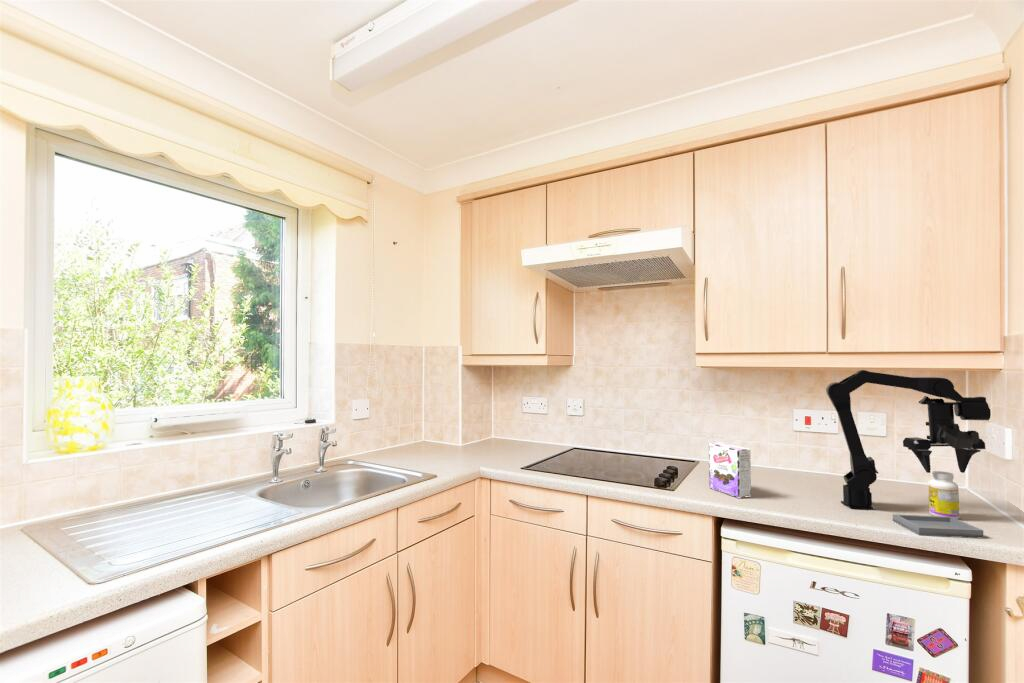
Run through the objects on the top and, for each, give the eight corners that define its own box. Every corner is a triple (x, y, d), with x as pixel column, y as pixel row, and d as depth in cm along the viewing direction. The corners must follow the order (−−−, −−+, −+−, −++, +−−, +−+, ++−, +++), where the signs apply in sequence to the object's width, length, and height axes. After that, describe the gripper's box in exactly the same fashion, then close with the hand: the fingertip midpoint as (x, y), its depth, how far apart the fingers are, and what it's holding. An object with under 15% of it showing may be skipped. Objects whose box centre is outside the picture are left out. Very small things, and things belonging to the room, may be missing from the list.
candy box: (708, 488, 172) (707, 442, 173) (721, 486, 175) (720, 441, 175) (738, 498, 160) (737, 449, 160) (752, 497, 162) (751, 448, 162)
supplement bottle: (928, 511, 146) (927, 469, 146) (958, 516, 141) (956, 472, 142) (929, 517, 140) (928, 473, 141) (960, 522, 136) (959, 476, 137)
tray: (919, 535, 126) (919, 527, 126) (892, 521, 137) (892, 514, 137) (983, 538, 124) (983, 530, 124) (951, 523, 135) (951, 516, 135)
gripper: (927, 423, 135) (931, 479, 134) (1000, 422, 133) (1005, 479, 132) (900, 419, 146) (903, 470, 145) (967, 417, 144) (971, 470, 143)
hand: (945, 472), depth 141 cm, fingers open, 9 cm apart
